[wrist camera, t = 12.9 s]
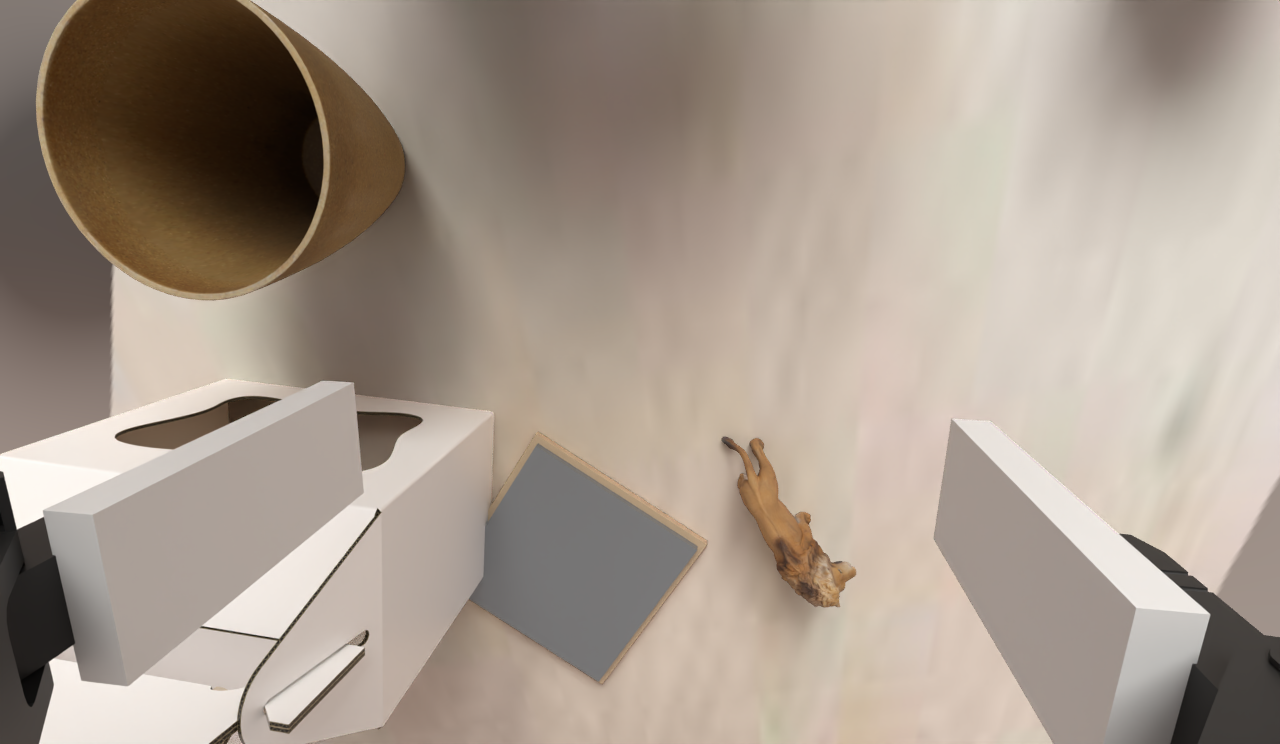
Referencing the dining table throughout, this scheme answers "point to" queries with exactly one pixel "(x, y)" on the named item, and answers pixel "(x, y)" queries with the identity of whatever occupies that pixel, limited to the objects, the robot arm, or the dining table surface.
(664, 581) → the pad
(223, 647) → the gable box
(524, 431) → the dining table surface
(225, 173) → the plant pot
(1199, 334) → the dining table surface
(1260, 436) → the dining table surface
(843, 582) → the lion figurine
